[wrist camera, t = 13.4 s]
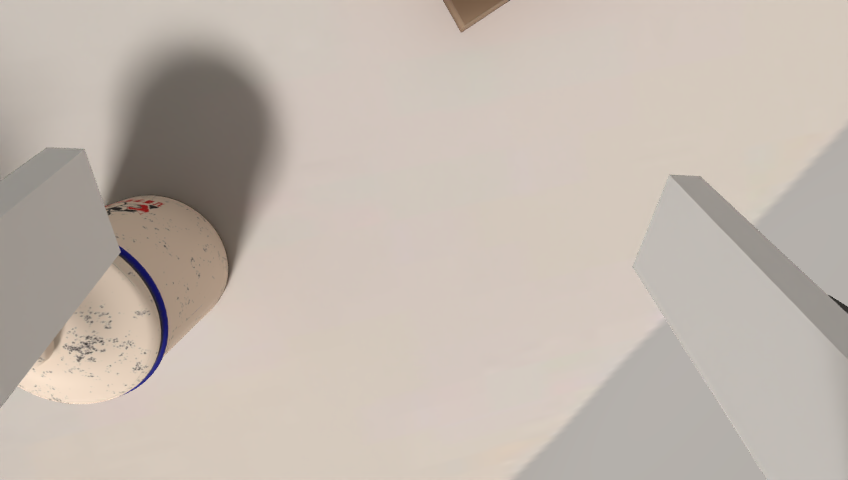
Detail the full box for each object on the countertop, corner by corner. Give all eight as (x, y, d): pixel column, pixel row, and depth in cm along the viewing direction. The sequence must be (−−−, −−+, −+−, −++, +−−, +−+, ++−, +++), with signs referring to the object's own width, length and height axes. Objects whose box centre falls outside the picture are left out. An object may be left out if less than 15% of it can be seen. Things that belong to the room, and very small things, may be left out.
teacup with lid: (170, 161, 30) (14, 201, 18) (263, 281, 32) (173, 381, 20) (27, 262, 31) (-194, 353, 20) (123, 368, 34) (-28, 504, 22)
